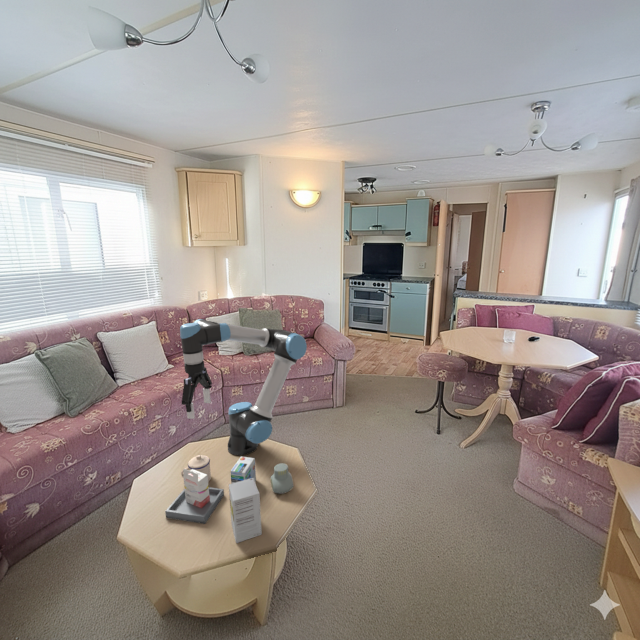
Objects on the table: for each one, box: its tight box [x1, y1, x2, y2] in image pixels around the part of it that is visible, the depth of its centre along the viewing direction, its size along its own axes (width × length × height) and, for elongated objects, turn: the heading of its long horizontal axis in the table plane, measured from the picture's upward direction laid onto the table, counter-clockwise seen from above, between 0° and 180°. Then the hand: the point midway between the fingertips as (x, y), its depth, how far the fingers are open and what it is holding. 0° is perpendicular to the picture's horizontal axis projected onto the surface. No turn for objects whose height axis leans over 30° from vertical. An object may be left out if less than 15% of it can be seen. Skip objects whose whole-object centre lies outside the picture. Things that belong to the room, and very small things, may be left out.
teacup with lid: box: [180, 454, 212, 483], centre depth 147 cm, size 12×9×12 cm
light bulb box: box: [229, 456, 257, 484], centre depth 143 cm, size 11×7×11 cm, turn 168°
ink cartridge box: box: [182, 468, 210, 508], centre depth 133 cm, size 9×5×15 cm, turn 63°
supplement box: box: [228, 478, 263, 544], centre depth 120 cm, size 10×9×17 cm
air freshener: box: [270, 462, 294, 495], centre depth 142 cm, size 11×8×10 cm
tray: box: [164, 486, 225, 525], centre depth 133 cm, size 15×16×3 cm
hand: (199, 410), depth 142 cm, fingers open, 13 cm apart
